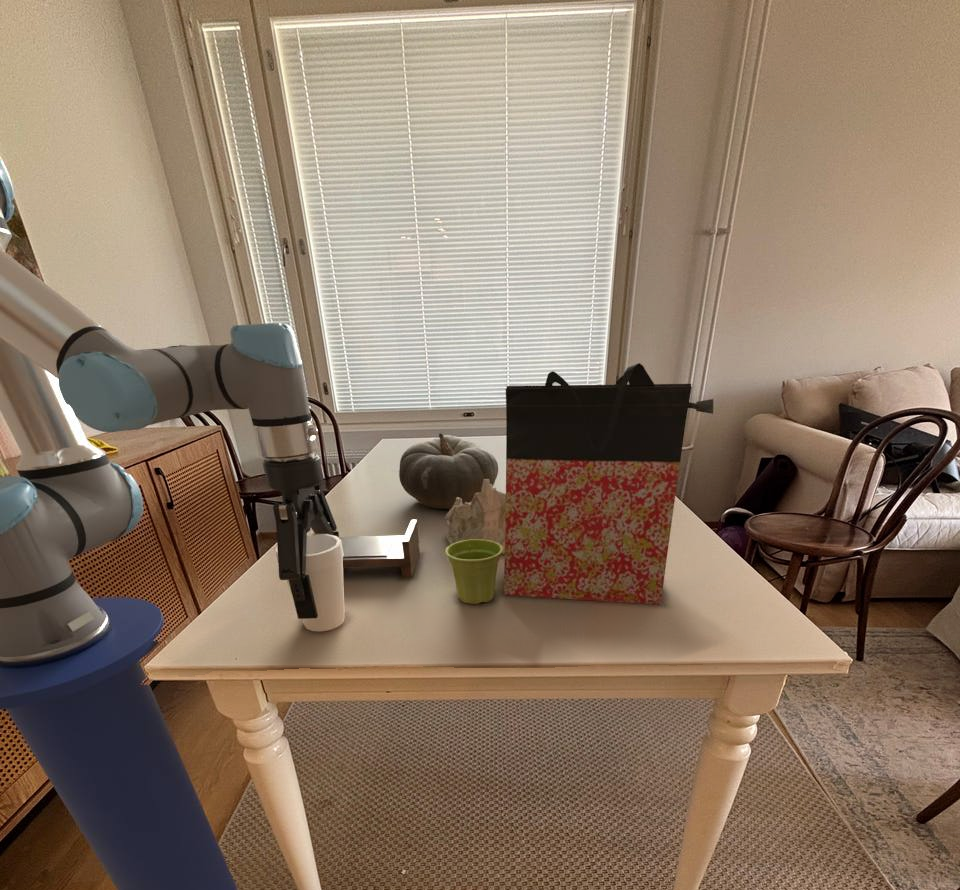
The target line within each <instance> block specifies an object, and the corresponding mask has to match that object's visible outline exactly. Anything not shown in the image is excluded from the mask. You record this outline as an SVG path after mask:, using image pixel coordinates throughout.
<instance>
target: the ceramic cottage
mask: <svg viewBox="0 0 960 890" xmlns="http://www.w3.org/2000/svg"><path fill="white" fill-rule="evenodd" d="M505 517H506V492H501V491H499V490H497V487H494V485H493V486H492V484H490V480H489V479H484V480H483V485H482V489H481V492H479V493H475V495H474V497H473V500H472V502H470V503H467V502H465V503H464V505H463V503H462V499H461V498H459V497H457V498H456V502H455V503H454V505H453V506H452V508H451V509H448V512H447V513H446V515H445V520H447V525H448V533H447V537H446V540H447V542H448V544H449V545H451V544H453V543H456V542H459V541H464V540H471V539H483V540H490V541H494V542H496V543H499V544H500V545H501V546H502V548H503V551H502V553H501V555H505Z"/></svg>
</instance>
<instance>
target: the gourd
mask: <svg viewBox="0 0 960 890" xmlns="http://www.w3.org/2000/svg"><path fill="white" fill-rule="evenodd" d="M399 461H400V462H399V471H398V477H399V478H398V479H399V482H400V484H401V486H402V488H403V489H404V491H405V492H406V493H407V494H408V495H409V496H410V497H412V498H414V499H415V500H416V501H417V502H418V503H419V504H421V505H424V506H426V507H429V508H432V509H437V510H450V509H451V508H452V506H453V505H454V503H455V502H456V498H457V497H459V498H461V499H462V503H463V505H464V503H465V502H467V503H470V502H472V500H473V497H474V495H475V493H479V492H481V489H482V485H483V480H484V479H489V480H490V484H492V486H493V487H494V485H495V482H496V480H497V477H498V474H499V464H498V461H497V459H496V458H495V456H494V455H493V454H492V453H490V452H489V451H488V450H485V449H484V448H483V447H482V446H480V445H478V444H477V443H475V442H473V441H471V440H469V439H462V438H460V437H458V436H455V435H450V434H445V435H443V433H442V432H440V433H438V438H434V439H431V440H429V441H423V442H417V443H415V444H412V445H411V446H409V447H408V448H407V449H405V451H404V452H403V454H402V455H401V457H400V460H399Z"/></svg>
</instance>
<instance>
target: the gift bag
mask: <svg viewBox="0 0 960 890" xmlns="http://www.w3.org/2000/svg"><path fill="white" fill-rule="evenodd" d="M650 376H651V375H649V373H648V372H647V370H646V368H645V367H644V365H643V364H641V363H640V362H638V363H635V364H633V365H630V366H628V367H627V368H626V370H625V371H624V372H623V374H622V376H620V377H619V378H618V380H617V381H616V383H615V384H569V383H568V382H567V381H566V380H565V379H564V378H563V377H562V376H561V375H560V374H558V373H557V372H555V371H550V372H548V374H547V376H546V380H545V383H544V385H506V387H505V415H506V416H505V418H506V419H505V420H506V422H505V423H506V424H505V426H506V428H505V429H506V433H505V436H506V437H505V439H506V440H505V494H506V517H505V554H504V567H503V568H504V569H503V571H504V573H503V596H514V597H515V596H516V597H527V598H528V597H531V598H544V599H545V598H546V599H558V600H559V599H561V600H574V601H575V600H576V601H577V600H578V601H592V602H607V603H623V604H640V605H654V606H661V605H662V598H663V591H664V585H665V584H664V583H665V575H666V569H667V568H666V566H667V560H668V552H669V545H670V544H669V543H670V537H671V529H672V523H673V515H674V508H675V502H676V494H677V487H678V480H679V473H680V466H681V460H682V459H681V458H682V451H683V444H684V437H685V430H686V423H687V418H688V412H689V409H692V410H695V411H696V412H699V413H705V414H713V415H714V398H712V399H711V398H709V399H705V400H699V401H696V402H690V400H691V395H692V388H693V386H692V383H655V382H654V381H653V380H652V378H651V377H650ZM555 383H556V384H555ZM553 384H554V385H553ZM557 384H558V385H557Z"/></svg>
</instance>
